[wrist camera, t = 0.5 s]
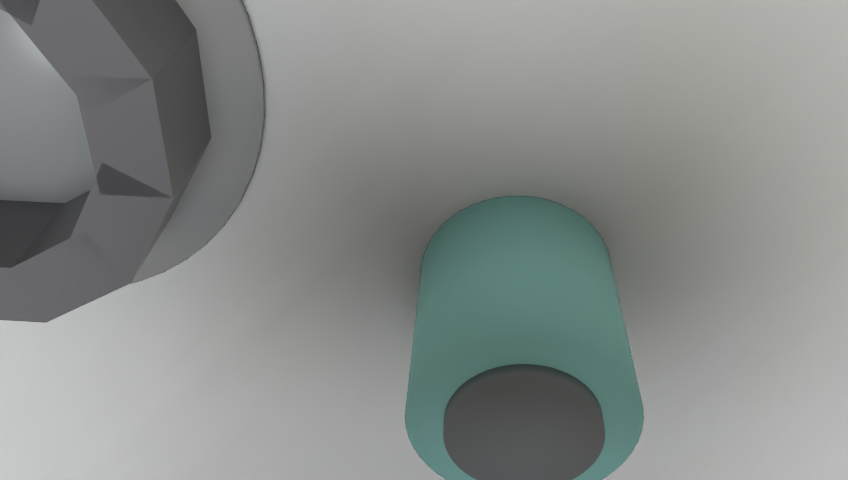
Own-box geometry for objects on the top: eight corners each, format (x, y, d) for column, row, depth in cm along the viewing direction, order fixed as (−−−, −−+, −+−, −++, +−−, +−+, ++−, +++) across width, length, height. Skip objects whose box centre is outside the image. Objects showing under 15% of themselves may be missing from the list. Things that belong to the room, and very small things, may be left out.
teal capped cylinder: (596, 352, 22) (625, 522, 17) (419, 342, 22) (402, 507, 17) (624, 200, 19) (668, 354, 15) (422, 190, 19) (404, 338, 15)
